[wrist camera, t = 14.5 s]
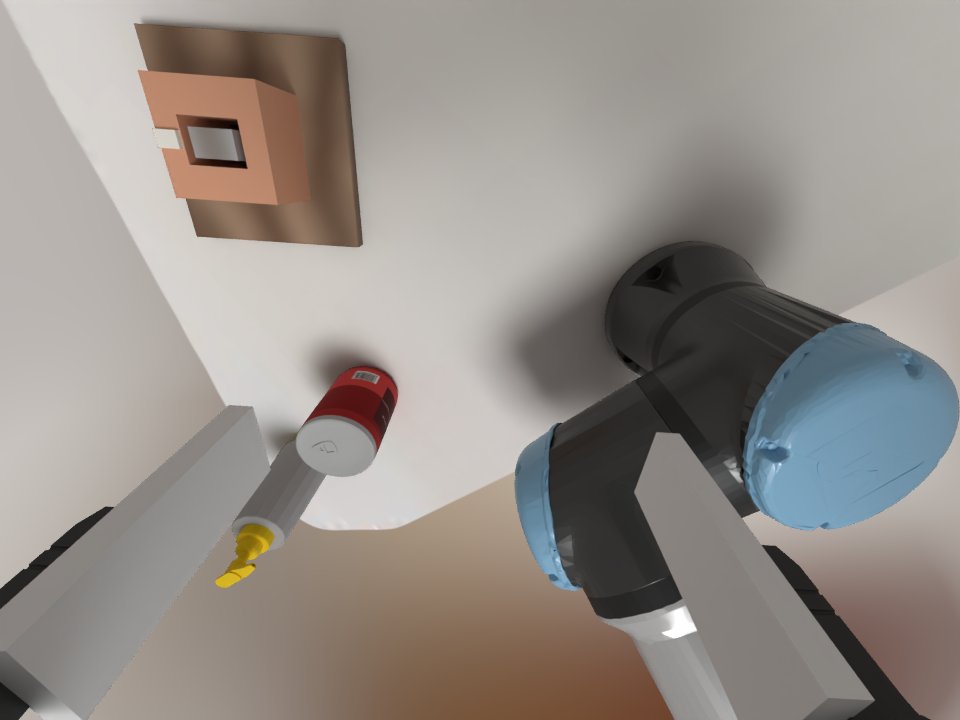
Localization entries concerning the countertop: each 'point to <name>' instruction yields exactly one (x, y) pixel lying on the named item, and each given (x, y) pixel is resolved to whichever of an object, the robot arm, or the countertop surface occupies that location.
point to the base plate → (323, 118)
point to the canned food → (348, 423)
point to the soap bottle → (272, 511)
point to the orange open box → (218, 104)
